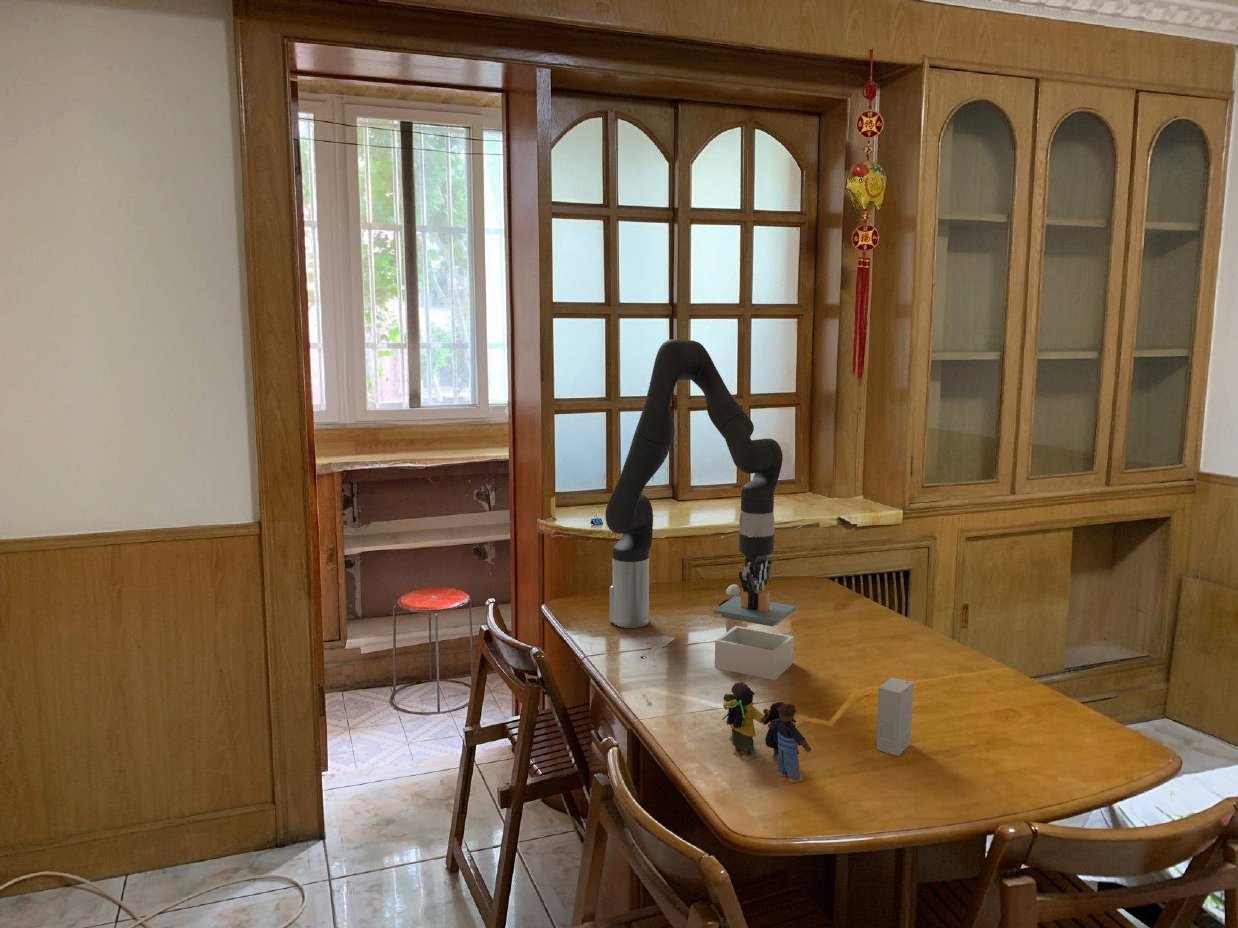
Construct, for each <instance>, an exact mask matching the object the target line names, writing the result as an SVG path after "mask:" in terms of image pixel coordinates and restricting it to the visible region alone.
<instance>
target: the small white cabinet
mask: <svg viewBox="0 0 1238 928" xmlns="http://www.w3.org/2000/svg"><path fill="white" fill-rule="evenodd" d="M794 638H795V636H793V635H789V634H788V635H787V634H784V633H783V634H782V633H776V632H770V631H766V630H760V629H756V628H755V629H754V628H751V627H745V626H742V627H740V626H735V627H733V628H732V629H730V630H729V631H728V632H727V631H726V632H725V633H723V634H722V635H720V636H719V637H718V638H716V639H715V640H714V650H715V651H714V668H716V669H720V670H724V671H730V672H734V673H739V674H743V675H748V676H752V677H757V678H758V677H759V678H762V679H767V680H772V681H776V680H777V679H778V678H779V677H780V676H781V675H782V674H783V673H785V672H786V670H788V669H789V668H790V667H791V666H792V665H793V664H794ZM764 648H766V649H764ZM768 649H772V650H768Z"/></svg>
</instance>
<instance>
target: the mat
mask: <svg viewBox="0 0 1238 928" xmlns="http://www.w3.org/2000/svg"><path fill="white" fill-rule="evenodd" d="M675 639H676V638H675V637H670V636H669V637H667V638H665V639H664V640H662V641H661V642H659V643H658V644H656V645H655V646H653V647H651V648H650V649H648V650H647V651H645V652H644V653H642V654H641V655H640V658H641V657H645V659H646V658H648V657H649V656H651V655H652V654H654V653H656V652H658V650H660V649H661V648H663V647H664V646H666V645H667V644H669V643H670V642H672V641H674V640H675Z"/></svg>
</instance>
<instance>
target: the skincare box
mask: <svg viewBox="0 0 1238 928" xmlns="http://www.w3.org/2000/svg"><path fill="white" fill-rule="evenodd" d="M913 694H914V683H913V682H912V681H907V680H904V679H900V678H896V677H890V678H889V679H888V680H886V682H884V683H883V684H882V685H880V686H879V687H878V695H877V697H878V699H877V728H876V750H877V751H879V752H883V753H887V754H890V755H893V756H897V757H899V756H900V755H901V754H902V753H903V752H904V751H905V750H906V749H907V748H908V747H909V746H910V745H911V744H912V725H913V700H914V698H913V697H914V695H913Z"/></svg>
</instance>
